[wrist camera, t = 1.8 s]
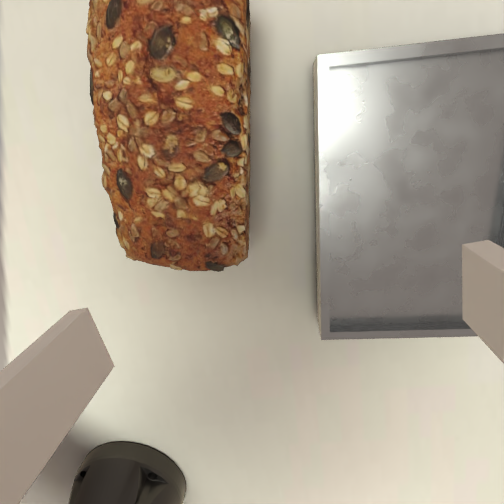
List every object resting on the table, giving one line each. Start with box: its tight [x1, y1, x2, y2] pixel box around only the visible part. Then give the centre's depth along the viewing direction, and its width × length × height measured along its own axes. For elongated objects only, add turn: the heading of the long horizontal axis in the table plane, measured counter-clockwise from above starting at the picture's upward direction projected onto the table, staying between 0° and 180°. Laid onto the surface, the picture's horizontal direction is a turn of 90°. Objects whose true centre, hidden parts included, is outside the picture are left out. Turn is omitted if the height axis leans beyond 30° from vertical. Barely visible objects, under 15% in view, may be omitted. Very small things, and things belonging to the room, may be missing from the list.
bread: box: [86, 0, 251, 272], centre depth 25 cm, size 19×11×10 cm, turn 179°
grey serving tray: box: [313, 34, 504, 340], centre depth 28 cm, size 16×24×4 cm, turn 5°
